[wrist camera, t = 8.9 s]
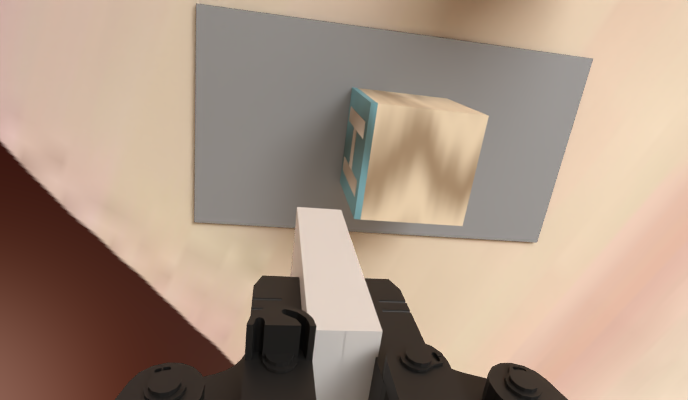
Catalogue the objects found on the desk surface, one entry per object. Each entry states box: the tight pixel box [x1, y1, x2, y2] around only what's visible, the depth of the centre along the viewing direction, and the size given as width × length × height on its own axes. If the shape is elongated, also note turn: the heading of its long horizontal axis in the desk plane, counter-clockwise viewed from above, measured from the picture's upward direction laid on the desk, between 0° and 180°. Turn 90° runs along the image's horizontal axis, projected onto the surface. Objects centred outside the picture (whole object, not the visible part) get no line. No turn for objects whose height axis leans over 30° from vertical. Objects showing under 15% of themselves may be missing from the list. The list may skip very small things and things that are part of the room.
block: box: [340, 87, 489, 226], centre depth 29 cm, size 7×7×7 cm
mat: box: [194, 4, 593, 242], centre depth 33 cm, size 15×28×1 cm, turn 83°
